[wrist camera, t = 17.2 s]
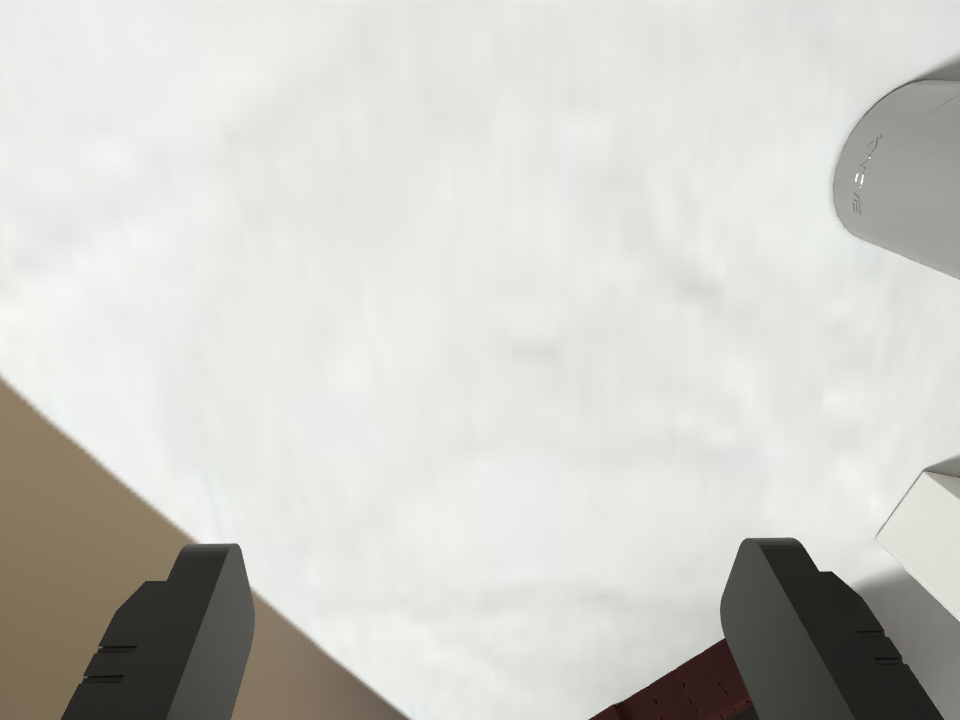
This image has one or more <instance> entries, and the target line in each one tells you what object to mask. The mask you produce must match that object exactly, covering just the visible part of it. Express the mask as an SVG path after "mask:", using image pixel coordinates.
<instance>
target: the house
mask: <svg viewBox="0 0 960 720" xmlns="http://www.w3.org/2000/svg"><path fill="white" fill-rule="evenodd" d="M589 720H760V719H759V716H758V714H757V711H756V709H755V707H754V704H753V702H752V700H751V697H750V695H749V693H748V690H747V688H746V686H745V683H744V681H743V679H742V676H741V674H740V672H739V669H738V667H737V664H736V662H735V660H734V657H733V655H732V653H731V650H730V648H729V646H728V643H727V641H726V638H724V639H723V640H721V641H719V642H718V643H716V644H714V645H713V646H711V647H710V648H708V649H706V650H705V651H704V654H703V653H701V654H698V655H697V656H695V657H694V658H692V659H690V660H689V661H687V662H686V663H684V664H682V665H681V666H679V667H677V671H676V670H674V671H671V672H669V673H668V674H666V675H665V676H663V677H661V678H660V679H658V680H657V681H655V682H653V683H652V684H650V688H649V687H646V688H644V689H642V690H640V691H639V692H637V693H636V694H634V695H632V696H631V697H629V698H628V699H626V700H624V701H623V702H621V703H620V704H618V708H617V707H615V706H614V705H611V706H610V707H608V708H607V709H605V710H603V711H602V712H600V713H599V714H597V715H595V716H594V717H592V718H591V719H589Z"/></svg>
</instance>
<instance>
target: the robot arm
mask: <svg viewBox="0 0 960 720" xmlns="http://www.w3.org/2000/svg"><path fill="white" fill-rule="evenodd" d="M833 195H834V204H835V208H836V212H837V215H838V217H839V219H840V221H841V222H842V224H843V226H844V227H845V228H846V229H847V230H848V231H849V232H850V233H851V234H853V235H854V236H856V237H858V238H860V239H862V240H864V241H867V242H869V243H872V244H874V245H877V246H879V247H882V248H884V249H886V250H889V251H891V252H894V253H896V254H899V255H901V256H904V257H906V258H908V259H910V260H913V261H915V262H918V263H920V264H923V265H925V266H927V267H930V268H932V269H935V270H937V271H940V272H942V273H945V274H947V275H950V276H952V277H955V278H957V279H959V280H960V81H950V80H922V81H918V82H914V83H911V84H908V85H906V86H904V87H902V88H899V89H897V90H895V91H893V92H892V93H890V94H889V95H888V96H886V97H885V98H884V99H882V100H881V101H879V102H878V103H877V104H876V105H875V106H874V107H873V108H872V109H871V110H870V111H869V112H868V113H867V114H866V115H865V116H864V117H863V118H862V119H861V121H860V122H859V123H858V125H857V126H856V128H855V129H854V130H853V132H852V133H851V135H850V137H849V138H848V140H847V142H846V144H845V146H844V148H843V150H842V152H841V155H840V158H839V161H838V164H837V167H836V171H835V177H834V184H833ZM720 615H721V623H722V628H723V632H724V636H725V638H726V641H727V643H728V646H729V648H730V650H731V653H732V655H733V657H734V660H735V662H736V664H737V667H738V669H739V672H740V674H741V676H742V679H743V681H744V683H745V686H746V688H747V690H748V693H749V695H750V697H751V700H752V702H753V704H754V707H755V709H756V711H757V714H758V716H759V719H760V720H944V719H943V717H942V716H941V714H940V713H939V711H938V710H937V708H936V707H935V705H934V704H933V702H932V701H931V699H930V698H929V696H928V695H927V693H926V692H925V690H924V689H923V687H922V686H921V684H920V683H919V681H918V680H917V678H916V677H915V675H914V674H913V673H912V671H911V670H910V668H909V667H908V665H907V664H904V663H903V662H902V656H901V655H900V653H899V652H898V650H897V649H896V647H895V646H894V644H893V643H892V641H891V640H890V638H889V637H885V635H884V629H883V628H882V626H881V625H880V623H879V622H878V620H877V619H876V617H875V616H874V614H873V613H872V612H871V610H870V609H869V607H868V606H867V604H866V603H865V601H864V600H863V598H862V597H860V596H859V595H858V594H857V593H856V592H855V591H854V590H852V589H851V588H850V587H849V586H848V585H847V584H846V583H844V582H843V581H842V580H841V579H840V578H839V577H838V576H836V575H835V574H834V573H833V572H832V571H828V572H819V570H818V569H817V567H816V565H815V564H814V562H813V561H812V559H811V557H810V556H809V554H808V553H807V551H806V549H805V548H804V547H803V545H802V544H801V543H800V542H799V541H798V540H796V539H794V538H747V539H745V540H743V542H742V543H741V545H740V547H739V550H738V553H737V556H736V559H735V561H734V564H733V567H732V570H731V573H730V576H729V578H728V581H727V584H726V587H725V590H724V593H723V596H722V599H721V606H720ZM254 623H255V611H254V604H253V599H252V595H251V591H250V586H249V582H248V577H247V573H246V569H245V564H244V560H243V556H242V551H241V548H240V546H239V545H238V544H187V545H186V546H184V547H183V548H182V550H181V552H180V553H179V555H178V557H177V559H176V561H175V564H174V566H173V568H172V570H171V572H170V575H169V577H168V579H167V581H146V582H145V583H143V585H142V586H140V588H139V589H138V590H137V591H136V592H135V593H134V594H133V595H132V596H131V597H130V598H129V599H128V600H127V601H126V602H125V603H124V604H123V605H122V606H121V607H120V608H119V609H118V610H117V611H116V613H115V614H114V616H113V618H112V620H111V622H110V624H109V626H108V628H107V630H106V632H105V634H104V636H103V638H102V640H101V642H100V644H99V646H98V652H97V654H94V655H93V657H92V659H91V662H90V663H89V665H88V667H87V669H86V671H85V673H84V675H83V682H82V683H81V684H79V685H78V687H77V689H76V691H75V693H74V695H73V697H72V699H71V700H70V702H69V704H68V706H67V708H66V710H65V712H64V714H63V716H62V718H61V720H230V719H231V717H232V713H233V709H234V706H235V702H236V699H237V695H238V692H239V688H240V685H241V681H242V678H243V674H244V671H245V667H246V664H247V660H248V656H249V653H250V649H251V645H252V640H253V634H254Z"/></svg>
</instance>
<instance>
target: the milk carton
mask: <svg viewBox="0 0 960 720" xmlns="http://www.w3.org/2000/svg"><path fill="white" fill-rule="evenodd" d="M875 541H876V542H877V543H878V544H879V545H880V546H881V547H882V548H883V549H884V550H885V551H886V552H887V553H889V554H890V555H891V556H892V557H893V558H894V559H895V560H896V561H897V562H898V563H899V564H900V565H901V566H902V567H903V568H904V569H905V570H906V571H907V572H908V573H909V574H910V575H911V576H913V577H914V578H915V579H916V580H917V581H918V582H919V583H920V584H921V585H922V586H923V587H924V588H925V589H926V590H927V591H928V592H929V593H930V594H931V595H932V596H933V597H934V598H935V599H936V600H938V601H939V602H940V603H941V604H942V605H943V606H944V607H945V608H946V609H947V610H948V611H949V612H950V613H951V614H952V615H953V616H954V617H955V618H956V619H957V620H958V621H959V622H960V478H958V477H953V476H948V475H943V474H938V473H933V472H927V471H924V472H922V474H921V475H920V476H919V478H918V479H917V481H916V482H915V483H914V485H913V486H912V488H911V489H910V490H909V492H908V493H907V494H906V496H905V497H904V499H903V500H902V501H901V503H900V504H899V506H898V507H897V508H896V510H895V511H894V513H893V514H892V515H891V517H890V518H889V519H888V521H887V522H886V524H885V525H884V526H883V528H882V529H881V531H880V532H879V533H878V535H877V536H876V538H875Z"/></svg>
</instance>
